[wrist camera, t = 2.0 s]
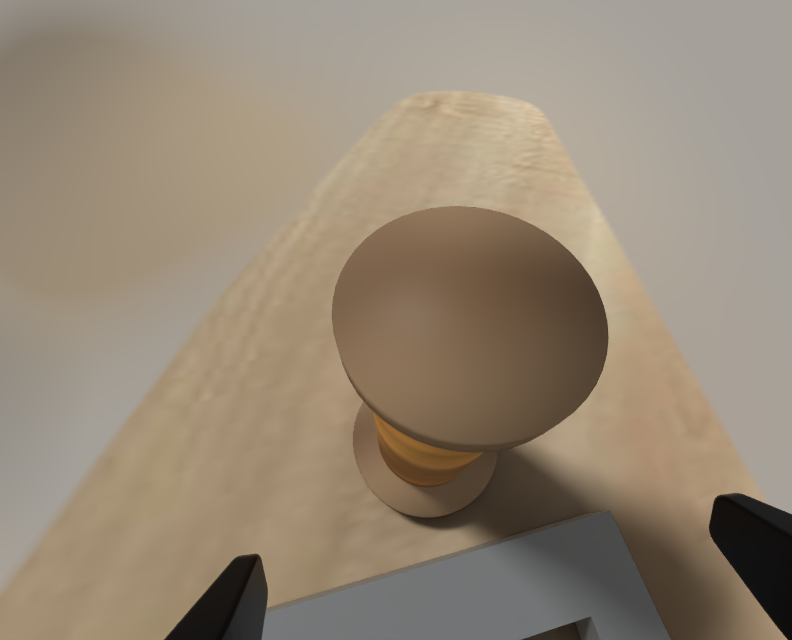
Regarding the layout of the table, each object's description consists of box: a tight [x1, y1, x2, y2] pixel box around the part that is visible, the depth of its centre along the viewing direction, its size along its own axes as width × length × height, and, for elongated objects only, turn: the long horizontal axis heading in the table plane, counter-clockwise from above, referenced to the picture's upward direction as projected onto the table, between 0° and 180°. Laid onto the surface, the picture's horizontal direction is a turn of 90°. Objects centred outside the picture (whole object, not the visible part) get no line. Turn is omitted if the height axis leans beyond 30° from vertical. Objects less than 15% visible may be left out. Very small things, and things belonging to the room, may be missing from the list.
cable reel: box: [332, 206, 608, 518], centre depth 13 cm, size 7×7×13 cm
